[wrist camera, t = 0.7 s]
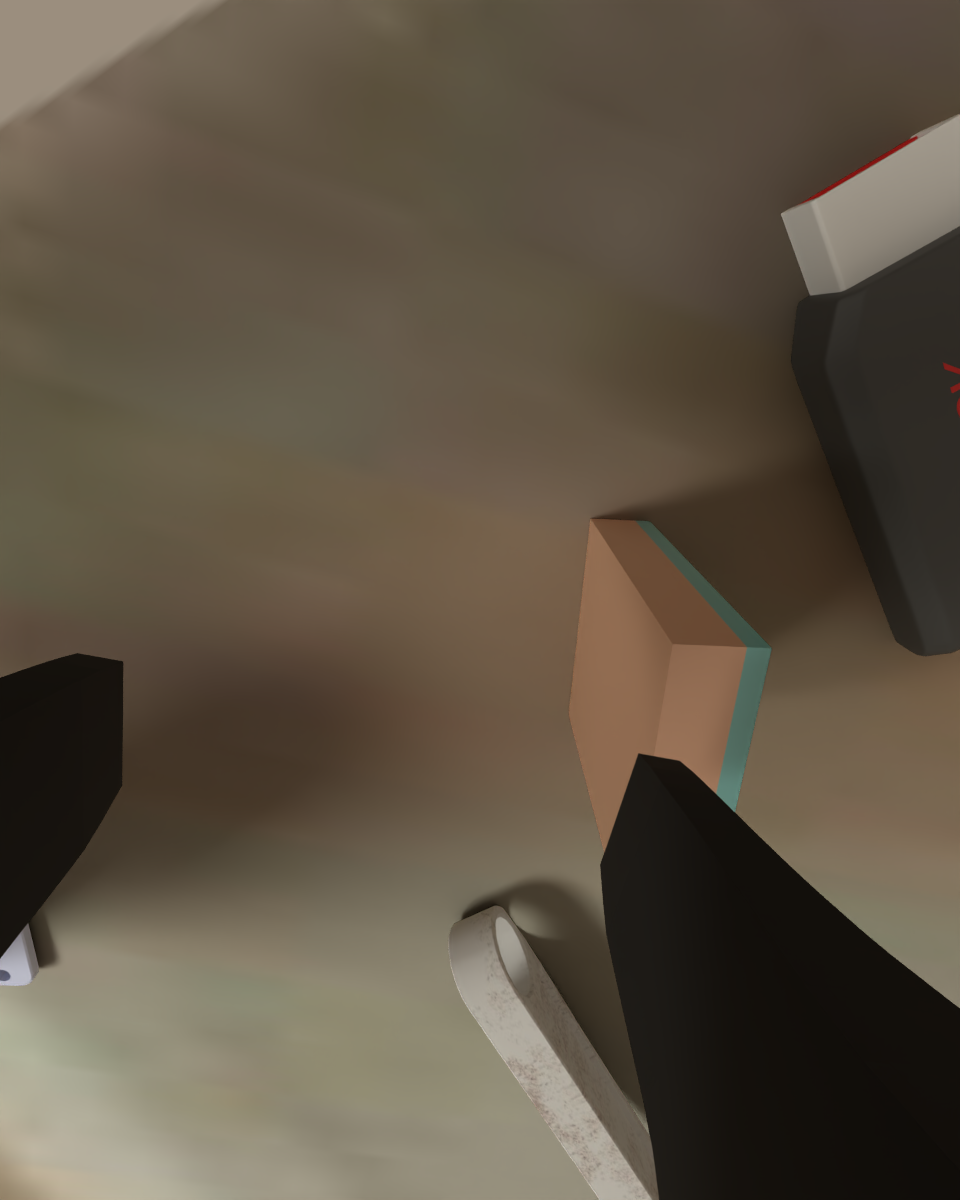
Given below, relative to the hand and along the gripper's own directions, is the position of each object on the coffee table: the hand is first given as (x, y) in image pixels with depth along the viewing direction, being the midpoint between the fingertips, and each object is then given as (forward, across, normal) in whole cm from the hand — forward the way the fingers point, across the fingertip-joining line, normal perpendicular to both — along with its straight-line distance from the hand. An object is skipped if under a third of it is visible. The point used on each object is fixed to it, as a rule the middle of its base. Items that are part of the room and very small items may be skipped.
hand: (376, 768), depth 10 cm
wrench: (+10, -13, +23) cm, 28 cm away
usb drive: (+11, -12, -6) cm, 17 cm away
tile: (+6, -5, +1) cm, 8 cm away
